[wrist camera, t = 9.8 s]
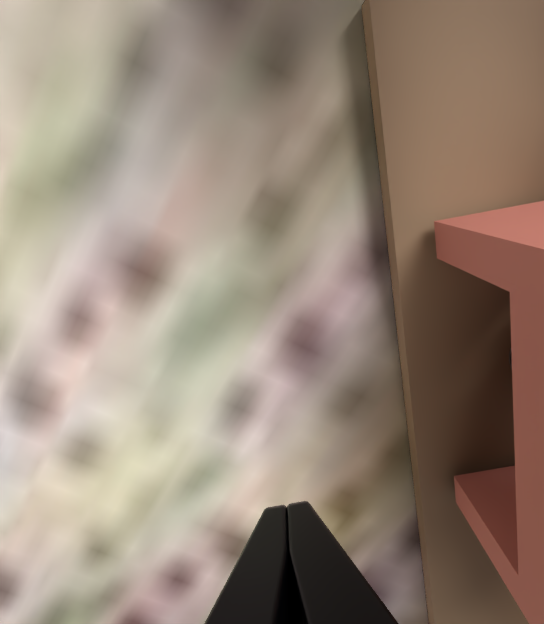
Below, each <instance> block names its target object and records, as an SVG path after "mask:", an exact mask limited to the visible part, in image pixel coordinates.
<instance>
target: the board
mask: <svg viewBox="0 0 544 624" xmlns="http://www.w3.org/2000/svg"><path fill="white" fill-rule="evenodd" d="M361 7H362V16H363V25H364V34H365V43H366V52H367V62H368V71H369V80H370V89H371V98H372V107H373V117H374V126H375V135H376V144H377V153H378V162H379V172H380V181H381V190H382V199H383V208H384V217H385V227H386V236H387V245H388V254H389V263H390V272H391V282H392V291H393V300H394V309H395V318H396V327H397V337H398V346H399V355H400V364H401V373H402V382H403V392H404V401H405V410H406V419H407V428H408V437H409V447H410V456H411V465H412V474H413V483H414V493H415V502H416V511H417V520H418V529H419V538H420V548H421V557H422V566H423V575H424V584H425V593H426V603H427V612H428V621H429V624H529V623H528V621H527V620H526V618H525V616H524V615H523V613H522V611H521V610H520V608H519V606H518V605H517V603H516V601H515V600H514V598H513V596H512V595H511V593H510V591H509V590H508V588H507V586H506V585H505V583H504V581H503V580H502V578H501V576H500V575H499V573H498V571H497V570H496V568H495V566H494V565H493V563H492V561H491V560H490V558H489V556H488V555H487V553H486V551H485V550H484V548H483V546H482V545H481V543H480V541H479V540H478V538H477V536H476V535H475V533H474V531H473V530H472V528H471V526H470V525H469V523H468V521H467V520H466V518H465V516H464V515H463V513H462V511H461V510H460V508H459V506H458V505H457V503H456V497H455V485H454V476H456V475H462V474H468V473H474V472H480V471H486V470H491V469H497V468H503V467H509V466H515V450H514V418H513V385H512V369H511V367H510V363H509V354H510V349H511V321H510V292H509V291H507V290H504V289H502V288H500V287H498V286H496V285H494V284H491V283H489V282H487V281H485V280H483V279H481V278H478V277H476V276H474V275H472V274H470V273H468V272H465V271H463V270H461V269H459V268H457V267H455V266H452V265H450V264H448V263H446V262H444V261H442V260H439V259H437V253H436V241H435V228H434V221H438V220H443V219H449V218H454V217H459V216H465V215H470V214H475V213H481V212H486V211H491V210H497V209H502V208H507V207H513V206H518V205H523V204H529V203H534V202H540V201H544V0H365V1H364V3H363V5H362V6H361Z"/></svg>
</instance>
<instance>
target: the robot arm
mask: <svg viewBox="0 0 544 624" xmlns="http://www.w3.org/2000/svg"><path fill="white" fill-rule="evenodd" d="M205 624H398V622H397V621H396V620H395V618H394V617H393V616H392V614H391V613H390V612H389V610H388V609H387V607H386V606H385V605H384V603H383V602H382V601H381V599H380V598H379V597H378V595H377V594H376V593H375V591H374V590H373V589H372V587H371V586H370V585H369V583H368V582H367V580H366V579H365V578H364V576H363V575H362V574H361V572H360V571H359V570H358V568H357V567H356V566H355V564H354V563H353V562H352V560H351V559H350V557H349V556H348V555H347V553H346V552H345V551H344V549H343V548H342V547H341V545H340V544H339V543H338V541H337V540H336V539H335V537H334V536H333V535H332V533H331V532H330V530H329V529H328V528H327V526H326V525H325V524H324V522H323V521H322V520H321V518H320V517H319V516H318V514H317V513H316V512H315V510H314V509H313V508H312V506H311V505H310V504H309V503H308V502H307V501H303V502H297V503H291V504H289V505H288V506H287V507H286V506H285V505H279V506H273V507H268V508H266V509H265V510H264V512H263V513H262V515H261V517H260V519H259V521H258V523H257V525H256V527H255V529H254V531H253V532H252V534H251V536H250V538H249V540H248V542H247V544H246V546H245V548H244V550H243V551H242V553H241V555H240V557H239V559H238V561H237V563H236V565H235V567H234V569H233V570H232V572H231V574H230V576H229V578H228V580H227V582H226V584H225V586H224V588H223V589H222V591H221V593H220V595H219V597H218V599H217V601H216V603H215V605H214V607H213V608H212V610H211V612H210V614H209V616H208V618H207V620H206V622H205Z"/></svg>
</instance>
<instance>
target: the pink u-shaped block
mask: <svg viewBox="0 0 544 624" xmlns="http://www.w3.org/2000/svg"><path fill="white" fill-rule="evenodd" d="M434 228H435V241H436V253H437V259H439V260H442V261H444V262H446V263H448V264H450V265H452V266H455V267H457V268H459V269H461V270H463V271H465V272H468V273H470V274H472V275H474V276H476V277H478V278H481V279H483V280H485V281H487V282H489V283H491V284H494V285H496V286H498V287H500V288H502V289H504V290H507V291H509V292H510V321H511V353H512V385H513V418H514V450H515V466H509V467H503V468H497V469H491V470H486V471H480V472H474V473H468V474H462V475H456V476H454V485H455V497H456V503H457V505H458V506H459V508H460V510H461V511H462V513H463V515H464V516H465V518H466V520H467V521H468V523H469V525H470V526H471V528H472V530H473V531H474V533H475V535H476V536H477V538H478V540H479V541H480V543H481V545H482V546H483V548H484V550H485V551H486V553H487V555H488V556H489V558H490V560H491V561H492V563H493V565H494V566H495V568H496V570H497V571H498V573H499V575H500V576H501V578H502V580H503V581H504V583H505V585H506V586H507V588H508V590H509V591H510V593H511V595H512V596H513V598H514V600H515V601H516V603H517V605H518V606H519V608H520V610H521V611H522V613H523V615H524V616H525V618H526V620H527V621H528V623H529V624H544V201H540V202H534V203H529V204H523V205H518V206H513V207H507V208H502V209H497V210H491V211H486V212H481V213H475V214H470V215H465V216H459V217H454V218H449V219H443V220H438V221H434Z"/></svg>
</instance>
